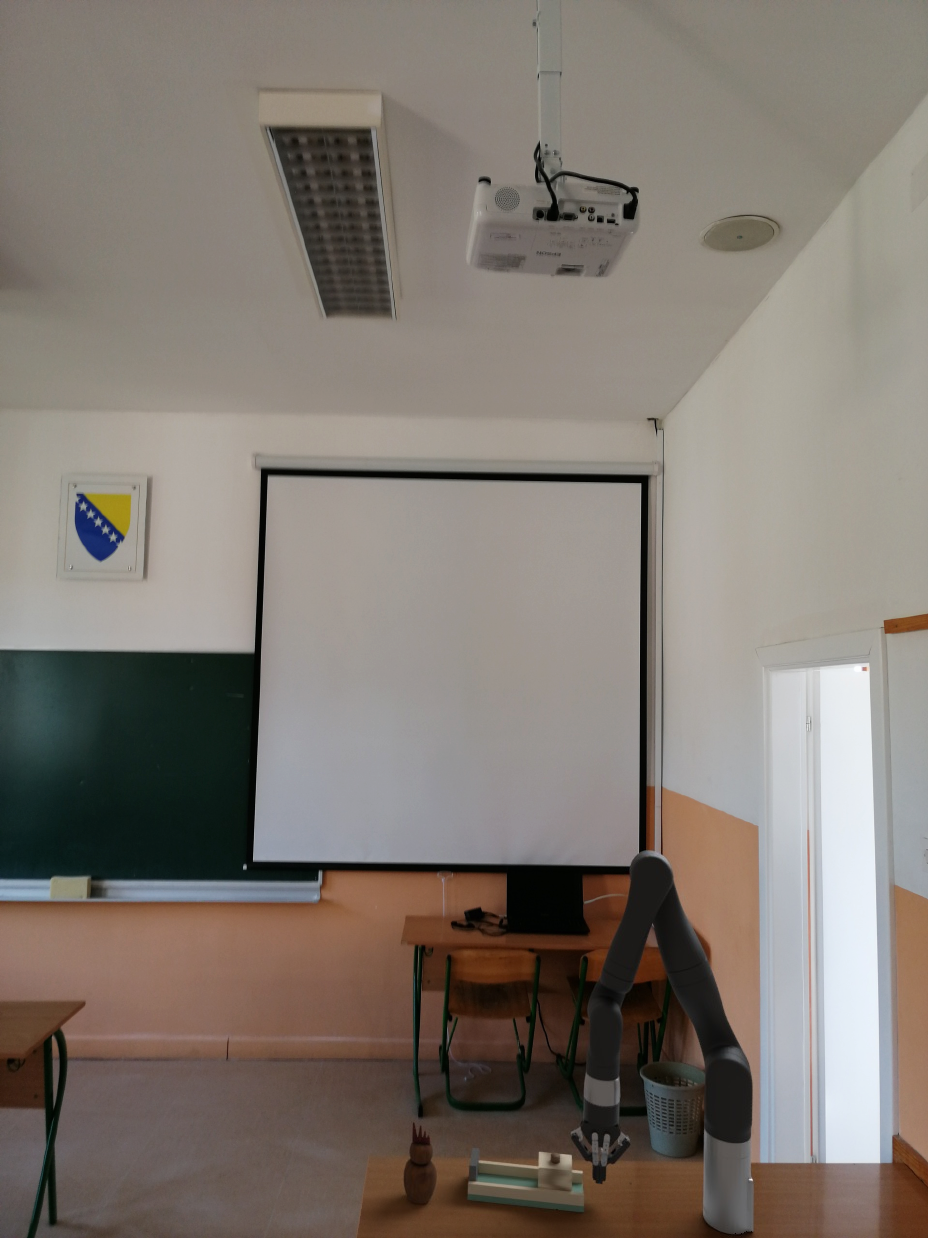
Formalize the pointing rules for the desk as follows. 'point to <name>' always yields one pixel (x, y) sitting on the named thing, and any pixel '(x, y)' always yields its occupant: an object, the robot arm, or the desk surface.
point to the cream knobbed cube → (555, 1171)
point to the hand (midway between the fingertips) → (598, 1182)
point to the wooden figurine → (420, 1169)
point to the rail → (519, 1186)
